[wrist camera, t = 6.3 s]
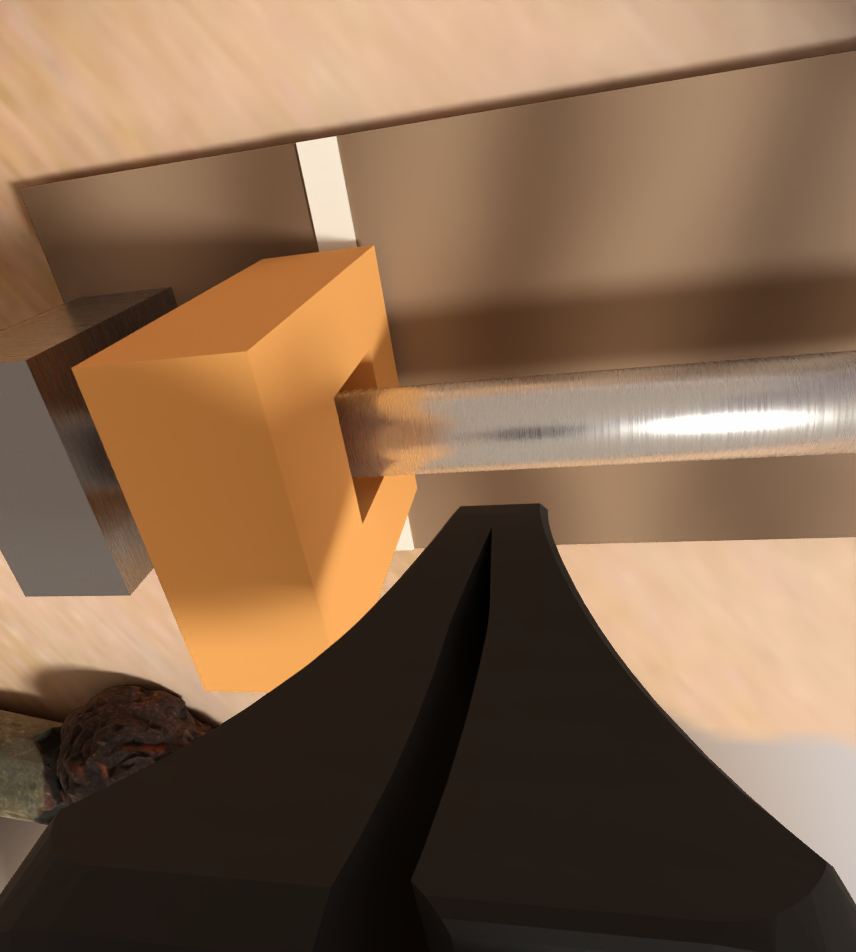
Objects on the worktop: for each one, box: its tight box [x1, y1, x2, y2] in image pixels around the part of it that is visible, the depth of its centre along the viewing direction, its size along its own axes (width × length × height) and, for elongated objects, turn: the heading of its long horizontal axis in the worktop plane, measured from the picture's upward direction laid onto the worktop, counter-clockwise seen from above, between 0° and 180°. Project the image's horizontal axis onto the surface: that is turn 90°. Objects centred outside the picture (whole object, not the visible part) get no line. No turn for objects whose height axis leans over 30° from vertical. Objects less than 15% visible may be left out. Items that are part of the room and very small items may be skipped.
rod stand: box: [0, 50, 856, 596], centre depth 16 cm, size 26×12×7 cm, turn 98°
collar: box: [71, 245, 417, 693], centre depth 15 cm, size 3×7×8 cm, turn 8°
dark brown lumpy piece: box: [0, 685, 213, 825], centre depth 29 cm, size 18×7×6 cm, turn 89°
